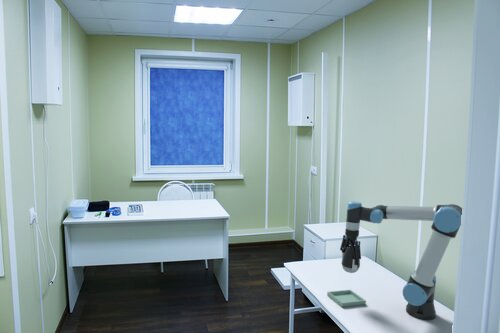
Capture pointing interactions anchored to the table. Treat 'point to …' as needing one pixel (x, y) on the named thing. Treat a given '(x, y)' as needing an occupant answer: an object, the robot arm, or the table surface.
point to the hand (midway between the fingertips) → (349, 266)
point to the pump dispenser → (349, 260)
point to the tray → (346, 298)
